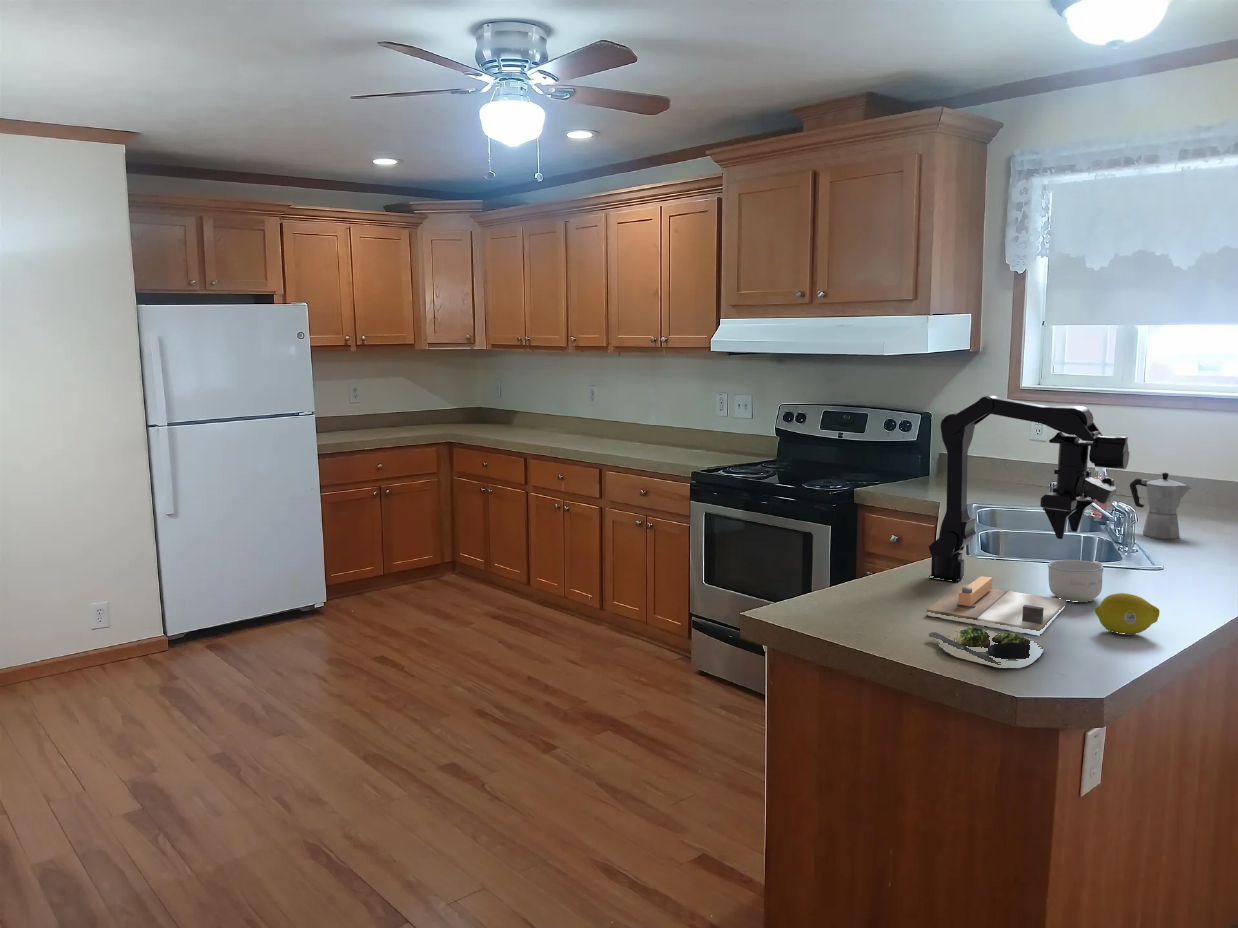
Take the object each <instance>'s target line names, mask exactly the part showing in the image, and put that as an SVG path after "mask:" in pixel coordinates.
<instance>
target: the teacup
mask: <svg viewBox="0 0 1238 928" xmlns="http://www.w3.org/2000/svg"><path fill="white" fill-rule="evenodd" d="M1047 567H1048V568H1047V569H1048V586H1049V587H1048V588H1049V590H1050V592H1051V593H1052V594H1053V595H1054V596H1056V598H1057V597H1058V598H1057V599H1059V598H1061V599H1064V600H1070V601H1078V602H1085V603H1089V602H1088V601H1090V602H1092V601H1093V600H1094V599H1096V598H1098V597H1099V596H1100V594H1101V593H1102V589H1103V575H1104V574H1103V573H1104V566H1103V564H1102V563H1101V561H1096V560H1094V561H1089V560H1079V559H1060V560H1053V561H1050V562H1048V563H1047Z"/></svg>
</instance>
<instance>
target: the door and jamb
mask: <svg viewBox="0 0 1238 928" xmlns="http://www.w3.org/2000/svg"><path fill="white" fill-rule="evenodd" d="M968 585H969V584H967V583H960V584H959V585H958V586H956V587H955V588H953V589H952V590H951V591H950V592H949V591H948V593H946V594H945V595H944V596H942V597H941V598H939V599H938V600H937V601H935V602H934V603H933V604H931V606H929V607H928V608H926V612H931V613H935V614H941V615H946V616H954V617H958V618H966V619H973V620H977V621H984V622H987V623H995V624H1000V625H1007V626H1010V627H1019V628H1022V629H1030V630H1036V631H1040V630H1041V629H1043V628H1044V627H1045V625H1047V623H1048V622H1049V621H1050V620H1051V619H1052V618H1053V617H1054V616H1055V615H1056V614H1057V613H1058V612H1059V610H1061V609H1062V608H1063V607H1064V606H1065V605H1066V606H1067V601H1066V600H1064V599H1059V598H1057V597H1050V596H1043V595H1037V594H1031V593H1030V594H1029V593H1024V592H1017V591H1011V590H1007V589H1005V590H1004V589H997V588H993V587H992V589H991V590H990V591H989V592H987V593H986V594H985V595H984V596H982V597H981V598H980V599H979V600H978V601H976V602H975V603H974V604H973V605H971V606H966V605H960V604H958V597H959V592H960V591H962V587H967V586H968Z"/></svg>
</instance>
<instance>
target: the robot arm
mask: <svg viewBox="0 0 1238 928" xmlns="http://www.w3.org/2000/svg"><path fill="white" fill-rule="evenodd" d="M990 415H994V416H1000V417H1005V418H1011V419H1016V420H1020V421H1021V420H1022V421H1026V422H1027V421H1028V422H1032V423H1038V424H1041V425H1044V426H1047V427H1049V428H1051V429H1052V430H1055V431H1058V432H1057V433H1056V434H1055V435H1054V436H1053V437H1052V438H1051V439H1049V440H1048V442H1049V443H1050V444H1058V454H1057V455H1058V456H1057V457H1058V458H1057V468H1055V469H1054V472H1053V474H1054V475H1056V483H1055V484H1056V486H1055V487H1053V488H1052V492H1048V493H1046V494H1044V495H1043V496H1042V497H1041V498H1040V505H1039V506H1040V508H1042V510H1043V511H1044V513H1045V515H1046V516H1047V519H1048V521H1049V523H1050V525H1051V527H1052V531H1053V532H1054V535H1055V537H1056V539H1059V540H1063V539H1064V536H1065V533H1066V532H1065V531H1066V528H1067V526H1068V525H1067V524H1069V527H1070V531H1071V532H1074V533H1077V532H1078V530H1079V528H1080V525H1081V522H1082V520H1083V517H1084V515H1085V512H1086V509H1087V508H1088V507H1089V506H1091V505H1092V504H1094V503H1096V501H1097V502H1098V503H1099V504H1103V505H1106V504H1107V503H1110V502H1111V500H1112V498H1113V496H1114V495H1115V494H1116V493H1117V486H1115V479H1113V478H1111V477H1109V476H1106V477H1104V478H1103V479H1102V480H1101V479H1099V478H1095V477H1092V471H1091V470H1090V469H1089V468H1088V462H1090V463H1091V464H1093V465H1094V467H1095V468H1104V469H1105V468H1106V469H1115V470H1117V469H1118V470H1126V469H1127V468H1128V465H1129V460H1130V450H1129V443H1128V441H1129V440H1128V439H1129V438H1128V436H1106V435H1104V434H1102V432H1101V431H1100V429H1099V428H1098V427H1097V426H1096V424H1095V423H1094V416H1093V413H1092V411H1090V409H1089V408H1087V407H1085V406H1083V405H1081V406H1080V405H1058V406H1057V405H1056V406H1055V405H1053V406H1052V405H1051V406H1049V405H1043V404H1037V403H1031V402H1028V401H1027V402H1026V401H1021V400H1015V399H1014V400H1013V399H1010V398H1009V399H1008V398H1004V397H998V396H996V395H993V394H992V395H986V396H985V395H984V396H982V397H981V398H979V399H978V400H977V401H975V402H974V403H972V404H971V405H968V406H967V407H965V408H964V409H962V410H960V411H959V412H954V413H952V414H948V415H946V416H944V418H942V420H941V422H940V426H939V427H940V432H941V439H942V442H943V445H944V448H945V450H946V509H945V510H946V511H945V513H944V517H943V519H942V521H941V524H940V530H939V535H938V536H939V537H938V538H937V539H936V540H935V541H933V542H932V543H931V544H930V545H928V549H929V552H930V553H929V554H930V555H931V566H930V568H931V570H930V571H931V573H930V575H928V578H929V577H930V576H934V577H933V578H940V579H944V580H952V581H957V580H958V579H960V578H961V579H962V578H964V577H963V576H965V574H964V571H965V560H964V559H963V551H964V549H965V546H967V545H968V544H969V543H971V542H972V540H973V538H974V536H975V535H976V534H977V533H976V529H975V526H976V525H975V524H976V517H970V515H969V512H968V508H967V506H968V502H967V500H968V499H967V498H968V456H969V455H968V452H969V448H970V446H971V443H972V441H973V437H974V434H975V433H974V432H975V427H976V425H978V424H979V423H981V422H982V421H984V420H985V419H986V418H988V417H989V416H990ZM1065 434H1066V435H1065ZM1088 460H1089V461H1088ZM1089 498H1090V499H1089ZM1068 522H1069V523H1068ZM961 579H960V580H961ZM958 581H959V580H958ZM958 581H957V582H958Z"/></svg>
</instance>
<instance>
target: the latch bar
mask: <svg viewBox="0 0 1238 928" xmlns="http://www.w3.org/2000/svg"><path fill="white" fill-rule="evenodd" d="M967 585H968V586H967V587H962V591H960V592H959V597H958V604H960V605H966V606H971V605H973V604H974V603H975V602H976V601H978V600H979V599H980V598H981V597H982V596H984V595H985V594H986V593H987V592H989V591H990V590H991V589H992V588H993V577H990V576H982V575H980V576H978V578H976V579H975V580H974V581H972V582H971V583H969V584H967Z"/></svg>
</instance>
